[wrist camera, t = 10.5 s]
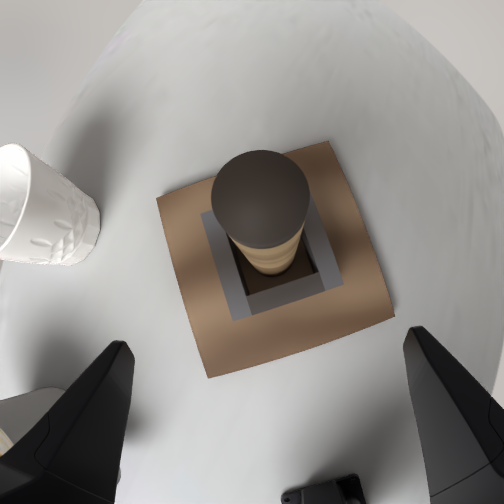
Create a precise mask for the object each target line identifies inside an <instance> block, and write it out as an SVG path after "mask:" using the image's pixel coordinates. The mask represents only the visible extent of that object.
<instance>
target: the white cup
mask: <svg viewBox="0 0 504 504" xmlns="http://www.w3.org/2000/svg"><path fill="white" fill-rule="evenodd" d="M99 231H100V212H99V210H98V208H97V206H96V204H95V202H94V200H93V199H92V198H91V197H89V196H88V195H86V194H85V193H83V192H82V191H81V190H79V189H78V188H77V187H76V186H75V185H74V184H73V183H72V182H70V181H69V180H68V179H67V178H66V177H64V176H63V175H61V174H60V173H59V172H58V171H56V170H55V169H54V168H52V167H50V166H49V165H48V164H46V163H45V162H43V161H42V160H41V159H39V158H38V157H36V156H35V155H34V154H32V153H31V152H30V151H28V150H27V149H26V148H24V147H23V146H22V145H20V144H17V143H10V144H6V145H4V146H2V147H0V259H1V260H9V261H16V262H22V263H34V264H45V265H48V264H60V265H69V266H72V265H74V264H76V263H78V262H80V261H82V260H84V259H85V258H86V257H87V255H88V254H89V253H90V251H91V250H92V249H93V248H94V246H95V243H96V240H97V237H98V234H99Z"/></svg>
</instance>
